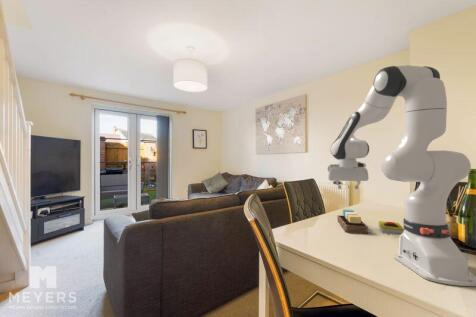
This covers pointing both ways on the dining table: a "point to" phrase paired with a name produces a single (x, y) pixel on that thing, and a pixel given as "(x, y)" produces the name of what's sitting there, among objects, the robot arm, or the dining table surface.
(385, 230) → the emergency button
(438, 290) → the dining table surface
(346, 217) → the white block
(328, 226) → the dining table surface
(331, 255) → the dining table surface
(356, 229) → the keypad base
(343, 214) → the teal block
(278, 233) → the dining table surface
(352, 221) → the yellow block
